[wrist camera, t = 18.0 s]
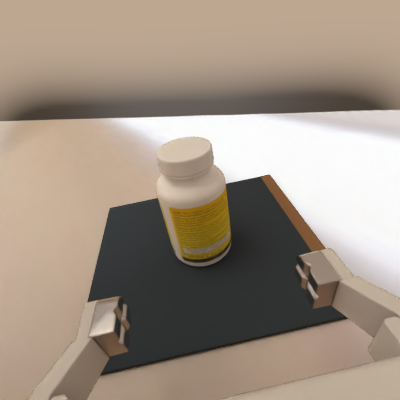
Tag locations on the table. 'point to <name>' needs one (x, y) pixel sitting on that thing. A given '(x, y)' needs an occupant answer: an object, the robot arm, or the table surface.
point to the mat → (207, 278)
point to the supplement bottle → (193, 201)
